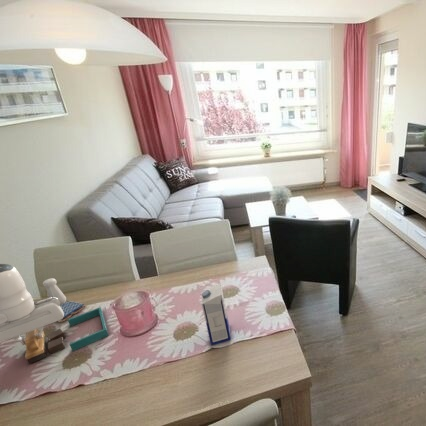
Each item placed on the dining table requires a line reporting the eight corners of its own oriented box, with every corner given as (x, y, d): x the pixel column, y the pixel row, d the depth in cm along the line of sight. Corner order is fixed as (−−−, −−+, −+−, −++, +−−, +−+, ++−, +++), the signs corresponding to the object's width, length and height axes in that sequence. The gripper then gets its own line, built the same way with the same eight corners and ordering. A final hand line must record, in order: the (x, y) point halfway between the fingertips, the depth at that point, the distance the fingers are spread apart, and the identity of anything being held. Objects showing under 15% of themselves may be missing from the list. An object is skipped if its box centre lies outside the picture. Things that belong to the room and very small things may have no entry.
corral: (72, 351, 104) (69, 344, 103) (70, 325, 116) (67, 319, 115) (108, 335, 110) (106, 329, 109) (102, 312, 123) (100, 306, 122)
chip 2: (50, 354, 103) (47, 348, 102) (50, 347, 106) (47, 342, 105) (65, 348, 105) (62, 342, 104) (64, 341, 108) (62, 336, 107)
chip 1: (52, 344, 107) (50, 339, 106) (49, 340, 109) (46, 335, 108) (65, 337, 110) (63, 332, 109) (62, 333, 112) (59, 328, 111)
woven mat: (69, 303, 130) (68, 299, 129) (87, 306, 127) (85, 303, 126) (43, 319, 120) (41, 315, 120) (62, 323, 118) (60, 319, 117)
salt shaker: (47, 308, 127) (35, 283, 122) (60, 300, 132) (49, 276, 127) (58, 309, 126) (47, 284, 121) (71, 301, 131) (60, 276, 126)
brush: (29, 364, 99) (20, 347, 96) (30, 344, 107) (22, 328, 105) (46, 356, 101) (38, 340, 99) (46, 337, 110) (39, 322, 107)
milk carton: (230, 340, 105) (221, 294, 98) (211, 345, 103) (200, 299, 96) (229, 326, 112) (220, 282, 104) (210, 331, 110) (200, 287, 102)
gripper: (56, 291, 106) (70, 321, 111) (-26, 318, 94) (-7, 351, 99) (56, 299, 102) (70, 330, 107) (-30, 328, 89) (-10, 362, 94)
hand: (33, 340), depth 103 cm, fingers closed on brush, 2 cm apart
